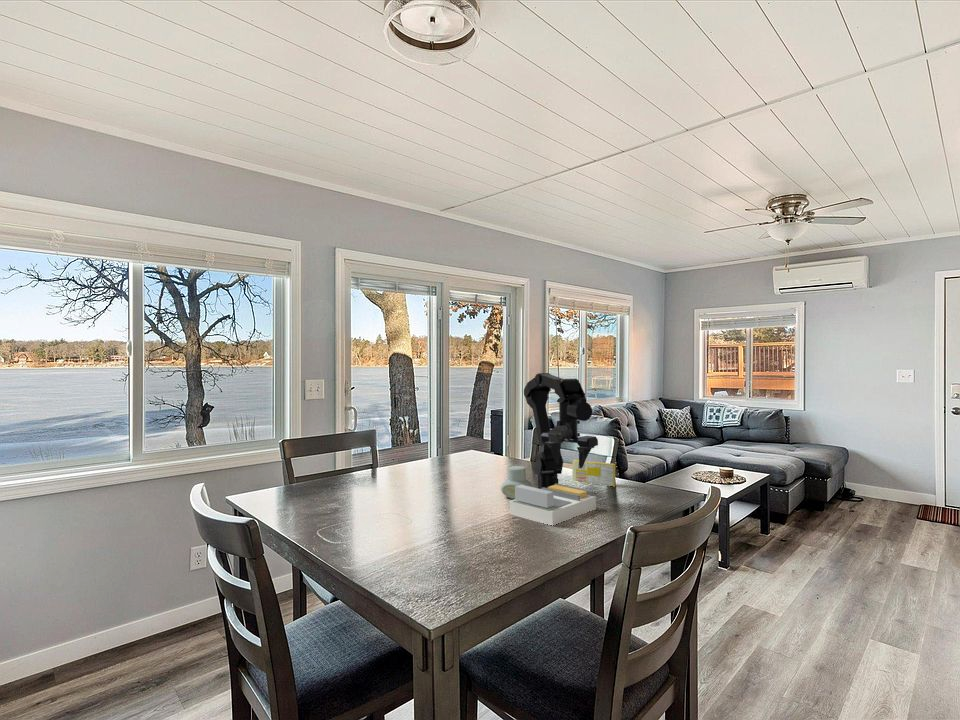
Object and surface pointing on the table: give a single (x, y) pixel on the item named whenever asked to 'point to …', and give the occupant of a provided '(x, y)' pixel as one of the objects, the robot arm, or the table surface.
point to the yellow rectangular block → (569, 490)
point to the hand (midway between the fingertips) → (568, 465)
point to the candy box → (594, 473)
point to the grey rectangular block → (534, 496)
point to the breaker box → (555, 507)
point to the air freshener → (514, 481)
